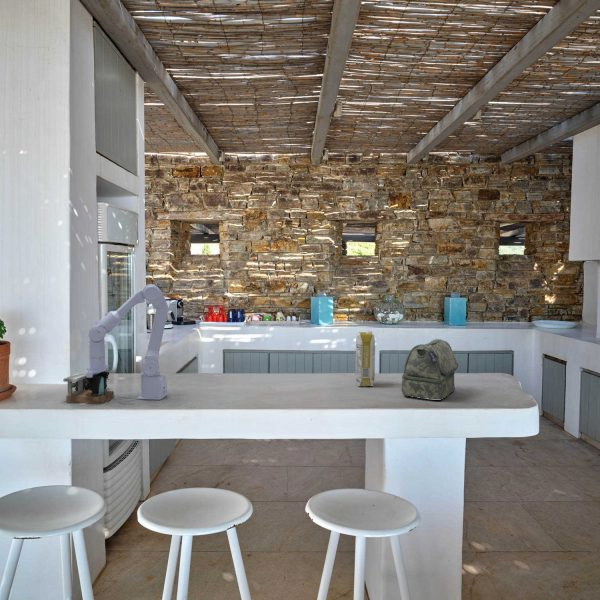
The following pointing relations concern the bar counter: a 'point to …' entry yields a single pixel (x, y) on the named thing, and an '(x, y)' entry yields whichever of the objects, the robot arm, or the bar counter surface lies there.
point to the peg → (101, 387)
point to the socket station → (85, 392)
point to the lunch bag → (429, 370)
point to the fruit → (85, 385)
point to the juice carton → (365, 358)
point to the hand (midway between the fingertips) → (98, 392)
